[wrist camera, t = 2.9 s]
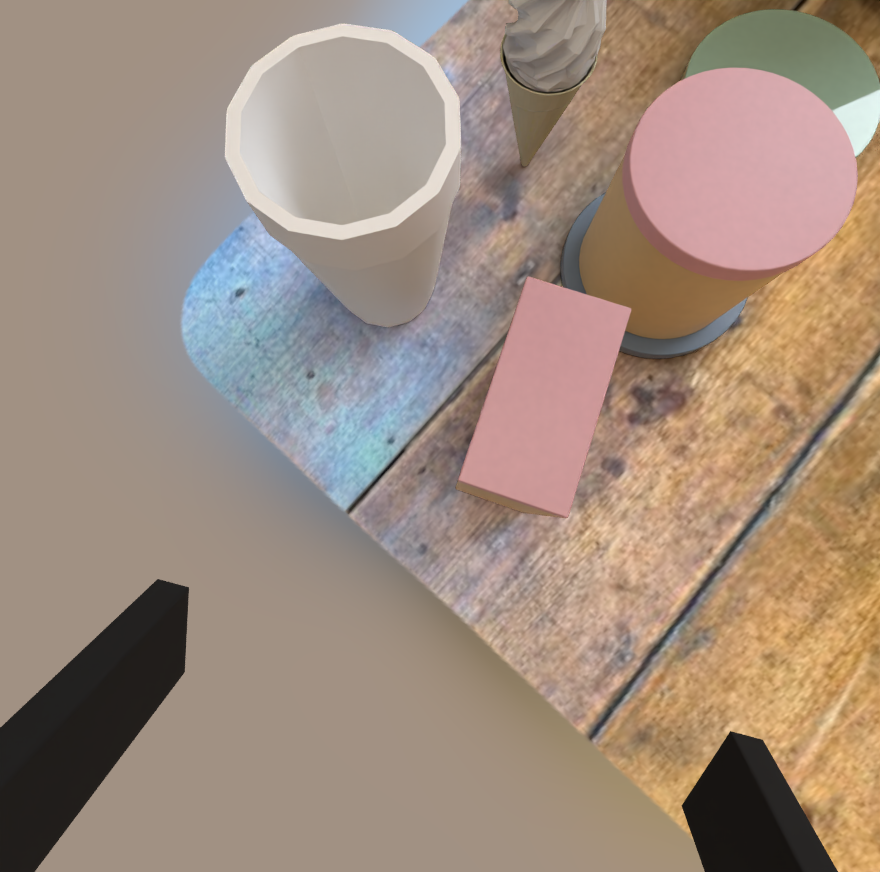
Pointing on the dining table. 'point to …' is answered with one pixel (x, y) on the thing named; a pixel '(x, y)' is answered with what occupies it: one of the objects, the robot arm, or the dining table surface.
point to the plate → (800, 63)
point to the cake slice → (544, 400)
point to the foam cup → (352, 162)
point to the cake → (711, 206)
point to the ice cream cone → (548, 62)
